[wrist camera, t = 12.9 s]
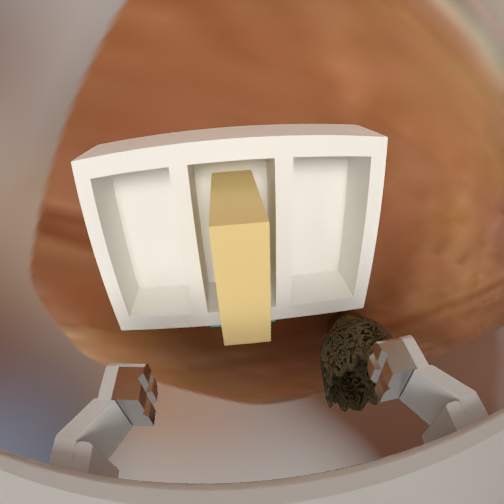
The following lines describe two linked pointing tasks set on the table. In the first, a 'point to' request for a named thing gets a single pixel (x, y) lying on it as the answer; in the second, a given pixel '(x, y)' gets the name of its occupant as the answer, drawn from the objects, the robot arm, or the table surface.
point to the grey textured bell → (349, 360)
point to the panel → (240, 257)
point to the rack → (197, 217)
